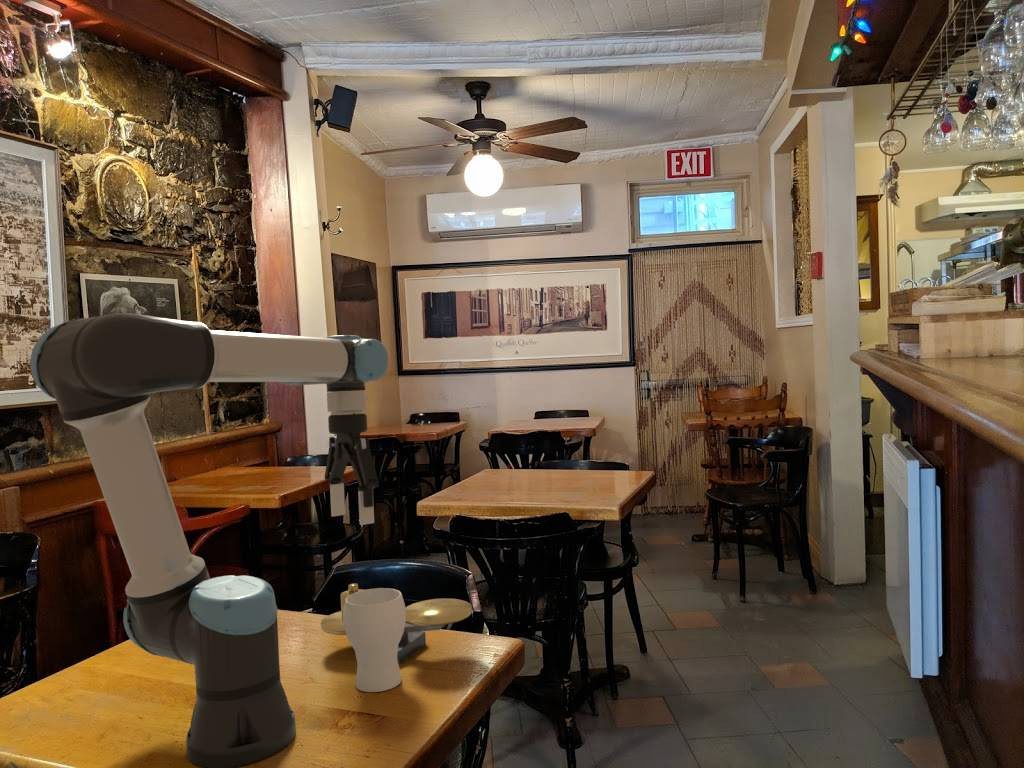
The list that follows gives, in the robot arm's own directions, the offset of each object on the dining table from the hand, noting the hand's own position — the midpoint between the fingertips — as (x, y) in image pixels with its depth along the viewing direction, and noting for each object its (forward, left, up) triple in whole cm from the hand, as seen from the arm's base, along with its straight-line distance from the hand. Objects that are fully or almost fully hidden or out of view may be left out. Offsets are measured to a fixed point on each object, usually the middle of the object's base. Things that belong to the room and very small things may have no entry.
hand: (352, 519), depth 147 cm
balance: (-3, -11, -24) cm, 27 cm away
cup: (-16, -15, -25) cm, 33 cm away
